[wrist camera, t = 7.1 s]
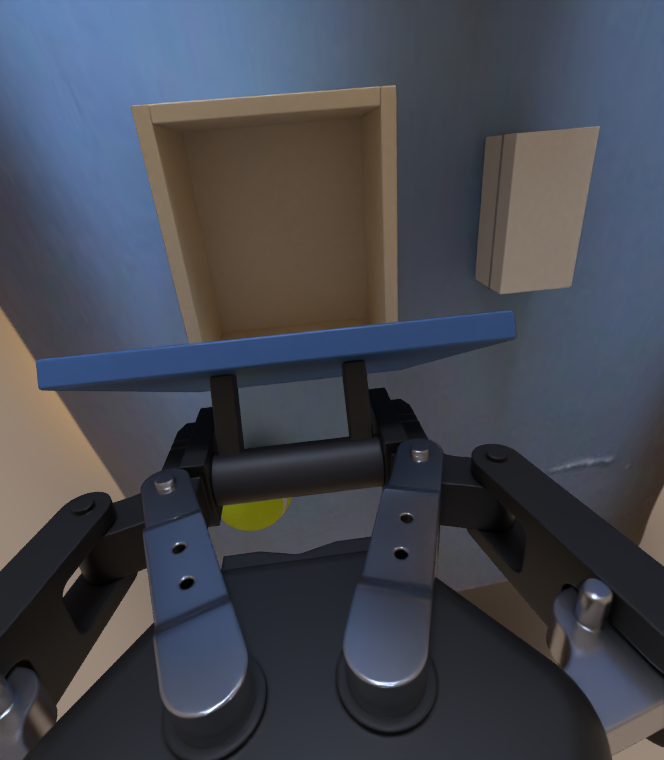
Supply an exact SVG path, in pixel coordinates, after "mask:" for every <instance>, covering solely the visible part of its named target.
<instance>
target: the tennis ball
mask: <svg viewBox="0 0 664 760" xmlns="http://www.w3.org/2000/svg"><path fill="white" fill-rule="evenodd" d="M291 498H292V497H290V498H281V499H273V500H265V501H257V502H249V503H241V504H233V505H225V506H223V510H222V515H221V519H222V520H223V521H224V522H225V523H227V524H228V525H230V526H232V527H233V528H236V529H239V530H244V531H256V530H260V529H263V528H267V527H268V526H270V525H272V524H274V523H275V522H276V521H277V520H278V519H279V518H280V517H281V516H282V515H283V514H284V513H285V512H286V510H287V508H288V506H289V504H290V501H291Z"/></svg>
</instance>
